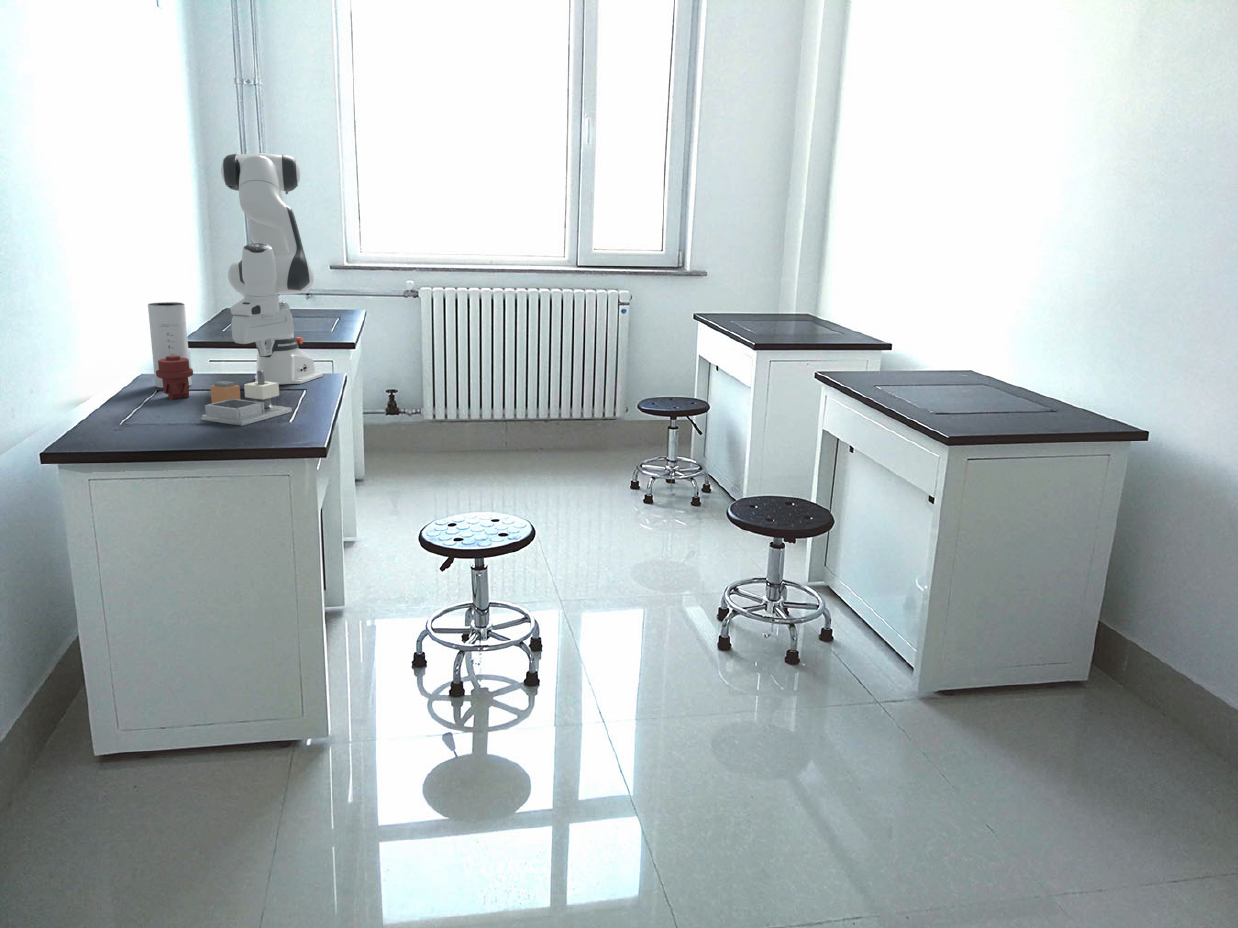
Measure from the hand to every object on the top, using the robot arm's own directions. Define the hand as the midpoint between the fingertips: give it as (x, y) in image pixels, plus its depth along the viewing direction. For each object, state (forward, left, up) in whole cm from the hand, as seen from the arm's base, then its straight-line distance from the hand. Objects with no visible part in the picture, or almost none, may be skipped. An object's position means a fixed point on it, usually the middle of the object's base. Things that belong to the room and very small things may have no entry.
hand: (266, 355), depth 268 cm
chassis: (+6, -2, -16) cm, 17 cm away
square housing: (0, -2, -12) cm, 12 cm away
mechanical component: (-2, -37, -16) cm, 41 cm away
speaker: (-14, -51, -16) cm, 56 cm away
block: (0, -16, -16) cm, 23 cm away
